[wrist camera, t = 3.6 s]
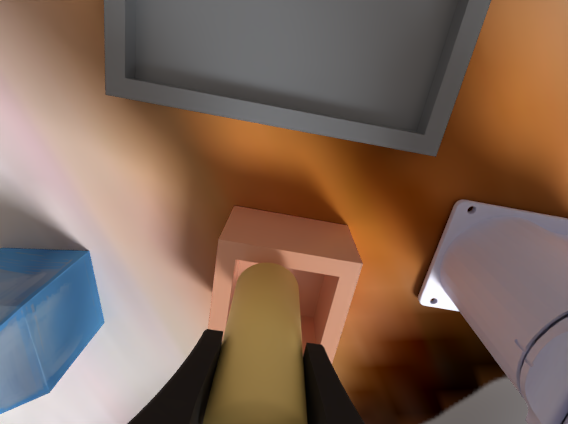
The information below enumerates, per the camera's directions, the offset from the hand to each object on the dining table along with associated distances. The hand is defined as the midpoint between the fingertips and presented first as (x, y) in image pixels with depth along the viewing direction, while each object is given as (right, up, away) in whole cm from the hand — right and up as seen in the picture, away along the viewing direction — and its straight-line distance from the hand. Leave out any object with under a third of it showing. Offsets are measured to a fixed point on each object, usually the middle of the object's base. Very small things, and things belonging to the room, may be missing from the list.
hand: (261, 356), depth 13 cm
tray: (+2, +17, +5) cm, 18 cm away
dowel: (0, +2, +4) cm, 4 cm away
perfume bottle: (-16, 0, +12) cm, 20 cm away
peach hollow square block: (+1, +2, +10) cm, 11 cm away
